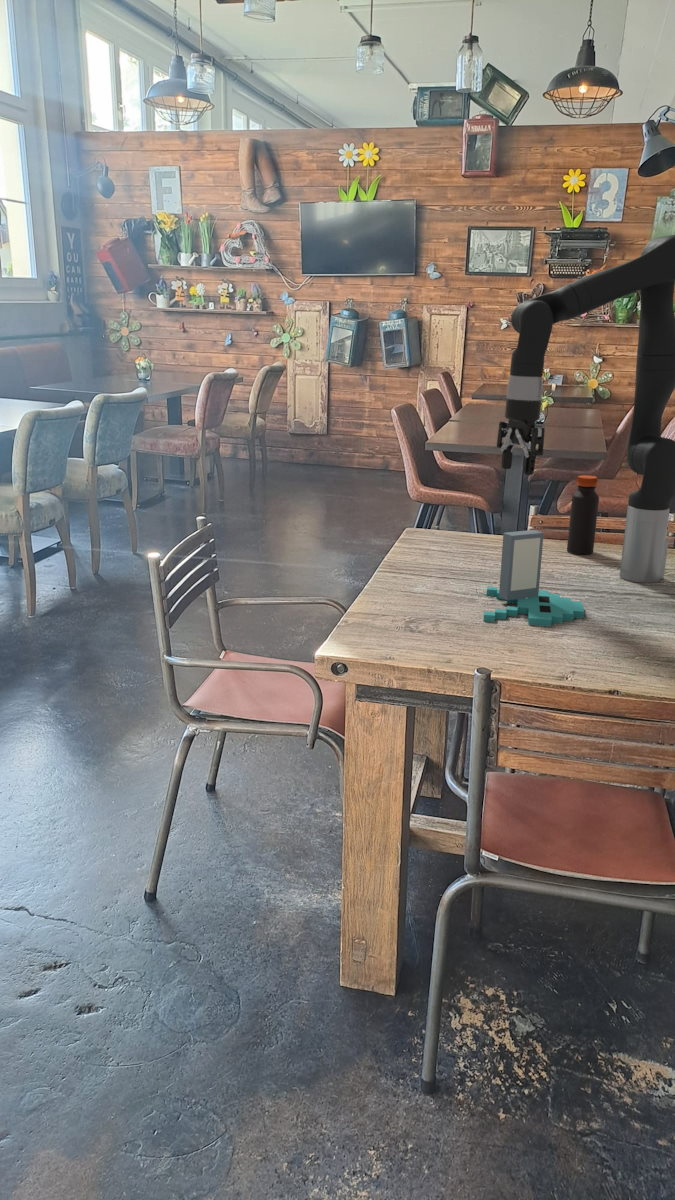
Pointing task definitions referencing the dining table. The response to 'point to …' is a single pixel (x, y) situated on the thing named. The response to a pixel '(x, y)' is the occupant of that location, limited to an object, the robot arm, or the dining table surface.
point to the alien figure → (538, 608)
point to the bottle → (583, 516)
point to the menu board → (521, 564)
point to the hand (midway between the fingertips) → (516, 471)
